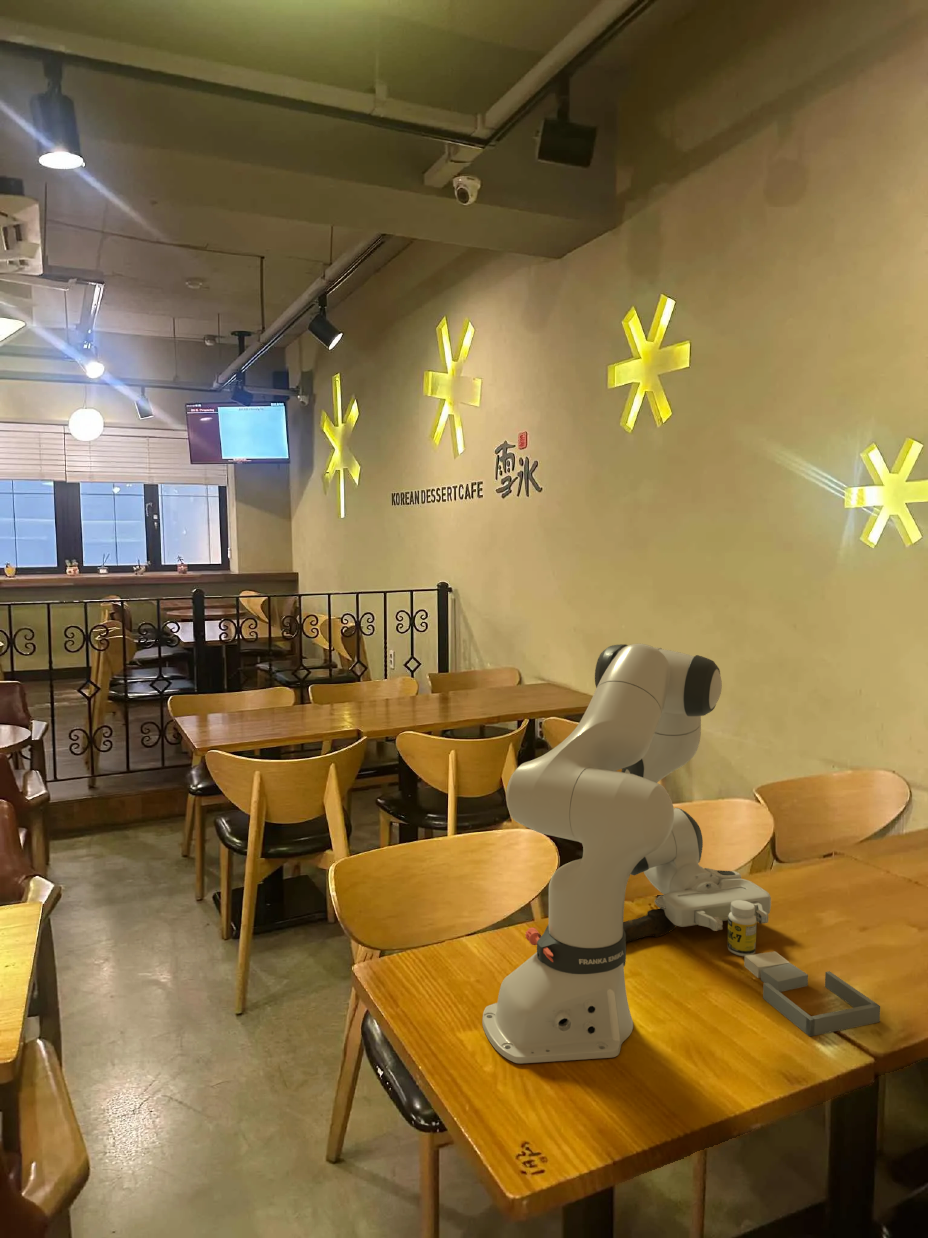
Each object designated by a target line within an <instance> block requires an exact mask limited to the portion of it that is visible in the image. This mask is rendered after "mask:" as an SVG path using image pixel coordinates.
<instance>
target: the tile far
mask: <svg viewBox="0 0 928 1238" xmlns="http://www.w3.org/2000/svg"><path fill="white" fill-rule="evenodd" d="M743 957H744V958H743V960H744V961H743V963H744V965H743V967H745V968H746V969H747V970H748V971H749V972H750V973H751V974H753V976H755V977H756V978H757V979H761V970H762V969H766V968H771V967H775V966H780V965H785V964H789V963H791V962H790V961H789V960H787V959H786V958H785V957H784V956H782V955H780V954H779V953H778V952H777V951H775V950H774V951H769V952H767V951H766V952H763V953H762V952H761V953H754V954H753V955H746V956H743Z"/></svg>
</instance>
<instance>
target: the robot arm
mask: <svg viewBox="0 0 928 1238" xmlns="http://www.w3.org/2000/svg"><path fill="white" fill-rule="evenodd" d="M721 677H722V676H721V670H720V668H719V666H718V665H717V664H716V662H715V661H714V660H712V659H710V658H708V657H705V656H702V655H698V654H697V655H696V654H695V656H694V655H690V654H688V653H683V652H679V651H676V650H675V651H674V650H671V649H670V650H669V649H664V648H662V647H654V646H651V645H649V644H645V643H632V644H629V645H628V644H627V643H625V644H613V645H610V646H608V647H606V648H605V649H603V650H602V652H600V654H599V655H598V658H597V661H596V665H595V670H594V683H595V691H594V693H593V695H592V697H591V700H590V702H589V703H588V706H587V707H586V710H585V711H584V714H583V715H582V718H581V719H580V721H579V722H578V724H577V726H575V729H573V730H572V732H571V733H570V734H569V735H568V736H567V737H566V738H565V739H563V741H562V742H560V743H558V744H557V745H556V746H554V748H552V749H551V750H549V751H548V752H546V753H545V754H543V755H541V756H539V757H537V758H534V759H532V760H528V761H525V762H523V763H521V764H520V765H518V766H517V768H516V769H515V770H514V771H513V773H512V774H511V776H510V778H509V780H508V782H507V784H506V785H507V786H506V792H505V801H506V807H507V810H508V813H509V815H510V817H511V819H513V821H515V822H516V823H518V824H519V825H522V826H524V827H526V828H527V829H529V830H532V831H535V832H537V833H540V834H543V835H547V836H552V837H556V838H561V839H565V840H569V841H574V842H578V843H580V844H581V845H582V847H583V848H582V858H579V859H575V860H572V861H570V862H568V863H565V864H563V865H562V866H560V867H559V868H557V869H556V870H555V872H554V873H553V875H552V876H551V878H550V880H549V884H548V925H547V926H546V928H545V930H544V931H543V934H541V933H540V932H539V931H538V930H537V928H535V927H529V928H528V929H527V930H526V931H525V934H524V935H525V939H526V940H527V941H528V942H529V943H530V945H532V946H536V952H534V954H533V955H531V956H530V957H528V959H527V960H526V961H524V962H523V963H522V964H520V965H519V966H518V967H517V968H515V969H514V970H513V971H512V972H510V974H508V975H507V976H505V977H504V978H503V980H502V982H501V984H500V987H499V991H498V997H497V1002H494V1003H492V1004H489V1005H486V1007H485V1008H484V1010H483V1013H482V1019H481V1020H482V1027H483V1031H484V1033H485V1035H486V1037H487V1040H488V1041H489V1042H490V1044H491V1045H492V1046H493V1048H494V1049H495V1050H496V1051H497V1053H499V1054H500V1055H501V1056H503V1058H505V1059H507V1060H508V1061H510V1062H513V1063H514V1064H536V1063H548V1062H549V1063H551V1062H565V1061H576V1060H578V1061H579V1060H591V1059H592V1060H593V1059H607V1058H610V1059H611V1058H615V1057H618V1056H619V1054H620V1051H621V1047H622V1044H623V1042H624V1041H626V1040H627V1039H628V1038H629V1036H630V1035H631V1034H632V1032H633V1029H634V1021H633V1018H632V1014H631V1011H630V1007H629V1002H628V994H627V988H626V981H625V966H626V962H627V942H626V934H625V931H624V929H623V922H624V915H625V914H624V912H625V911H624V910H625V898H626V889H627V885H628V881H629V879H630V875H631V876H637V875H639V874H642V873H643V874H644V875H645V877H646V878H647V880H648V881H649V882H650V883H651V885H652V886H653V887H654V888H655V889H656V890H658V891H659V892H660V893H661V894H662V895H658V896H657V898H655V899H654V905H656V906H657V907H658V908H659V909H660V908H661V909H663V910H664V911H665V915H666V917H667V918H668V919H669V920H670V921H671V922H672V923H673V924H674V925H676V927H681V928H685V927H686V928H687V927H691V926H697V925H698V926H702V927H705V928H709V929H711V930H712V931H714V932H715V931H716V932H717V931H723V927H724V926H723V925H724V924H723V922H724V921H728V915H729V913H730V912H731V910H730V908H731V902H733V901H736V900H742V901H747V902H750V903H752V904H753V905H754V907H755V913H754V916H755V917H756V921H757V922H756V923H759V924H761V925H762V924H768V923H769V914H770V913H771V907H772V897H771V895H770V893H769V892H768V891H767V890H765V889H763V888H762V887H761V886H759V885H757V884H756V883H754V882H753V881H751V880H748V879H745V878H742V874H741V873H739V872H738V871H735V870H721V869H720V870H717V869H713V868H709V867H704V866H701V865H700V864H699V863H700V862H701V859H702V853H703V846H704V843H703V842H704V841H703V833H702V831H701V830H702V829H701V827H700V826H699V824H698V822H697V821H696V820H695V818H693V816H692V815H690V814H689V813H688V812H687V811H685V810H684V809H681V808H679V807H674V805H673V801H672V799H671V796H670V794H669V791H667V789H666V787H665V786H664V785H662V784H660V783H659V782H660V781H661V780H663V779H664V778H666V777H667V776H668V775H670V774H671V773H673V772H675V771H677V770H679V769H681V768H682V767H684V766H685V765H686V764H688V762H690V761H691V760H692V759H693V758H694V757H695V755H696V753H697V751H698V749H699V746H700V742H701V733H702V731H701V730H702V727H701V726H702V724H701V723H702V717H703V716H706V715H708V714H709V713H711V712H713V711H714V710H715V707H716V705H717V703H718V701H719V699H720V697H721V695H722V690H723V689H722V687H723V686H722V678H721ZM619 770H620V771H619Z"/></svg>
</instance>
